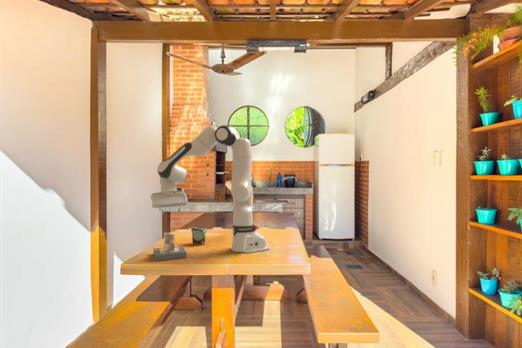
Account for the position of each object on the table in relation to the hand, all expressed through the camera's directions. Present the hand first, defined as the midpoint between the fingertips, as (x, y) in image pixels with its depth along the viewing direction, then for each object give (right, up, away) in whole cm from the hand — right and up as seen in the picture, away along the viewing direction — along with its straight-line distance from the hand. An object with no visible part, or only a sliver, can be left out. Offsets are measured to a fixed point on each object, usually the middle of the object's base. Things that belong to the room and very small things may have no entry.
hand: (171, 212), depth 198 cm
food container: (+15, -21, +16) cm, 30 cm away
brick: (+3, -19, -14) cm, 23 cm away
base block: (+3, -22, -14) cm, 26 cm away
